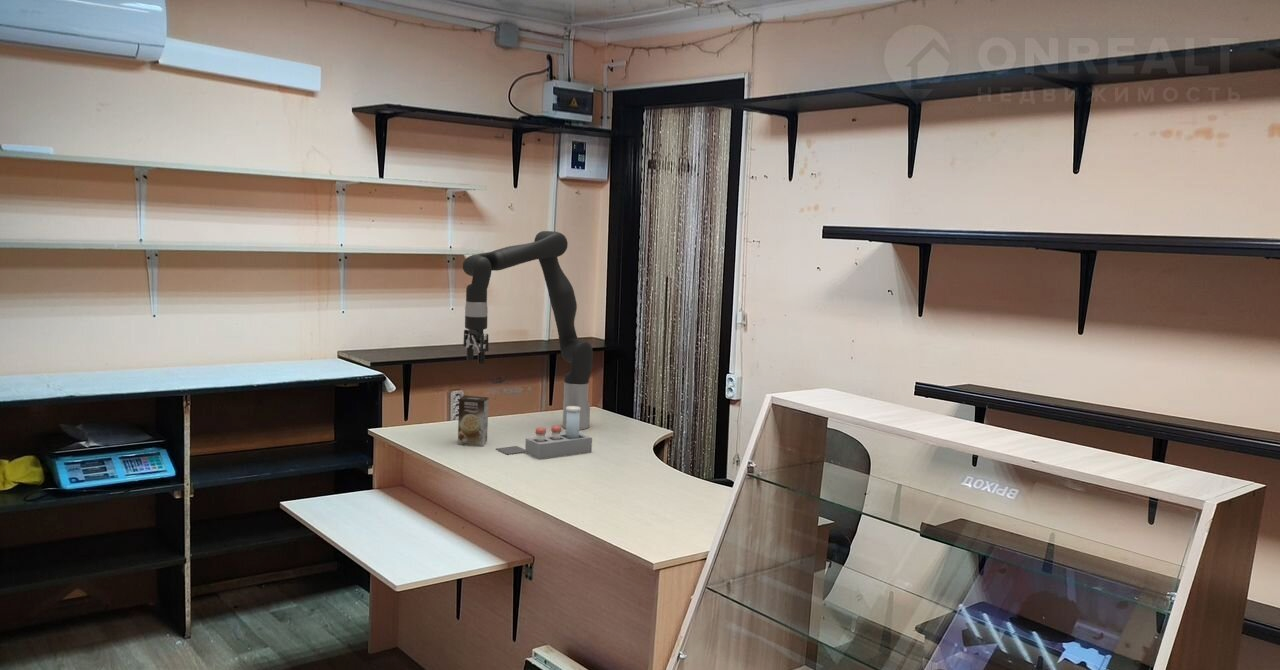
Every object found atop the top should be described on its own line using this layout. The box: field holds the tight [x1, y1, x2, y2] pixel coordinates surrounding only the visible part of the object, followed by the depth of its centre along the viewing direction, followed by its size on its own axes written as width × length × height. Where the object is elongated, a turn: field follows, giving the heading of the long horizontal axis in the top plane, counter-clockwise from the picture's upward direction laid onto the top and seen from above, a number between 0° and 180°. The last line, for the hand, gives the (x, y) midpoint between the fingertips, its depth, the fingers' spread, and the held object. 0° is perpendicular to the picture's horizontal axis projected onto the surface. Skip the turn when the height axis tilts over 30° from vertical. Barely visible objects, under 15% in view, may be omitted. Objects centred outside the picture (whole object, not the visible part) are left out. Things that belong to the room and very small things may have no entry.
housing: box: [524, 432, 593, 460], centre depth 310 cm, size 20×9×5 cm, turn 127°
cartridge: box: [565, 406, 581, 439], centre depth 313 cm, size 5×5×15 cm
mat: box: [495, 445, 526, 456], centre depth 310 cm, size 8×8×1 cm
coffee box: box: [457, 395, 489, 447], centre depth 316 cm, size 9×6×16 cm
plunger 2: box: [550, 425, 562, 440], centre depth 309 cm, size 3×3×6 cm
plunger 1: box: [535, 426, 547, 442], centre depth 305 cm, size 3×3×6 cm
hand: (475, 361), depth 316 cm, fingers open, 8 cm apart
